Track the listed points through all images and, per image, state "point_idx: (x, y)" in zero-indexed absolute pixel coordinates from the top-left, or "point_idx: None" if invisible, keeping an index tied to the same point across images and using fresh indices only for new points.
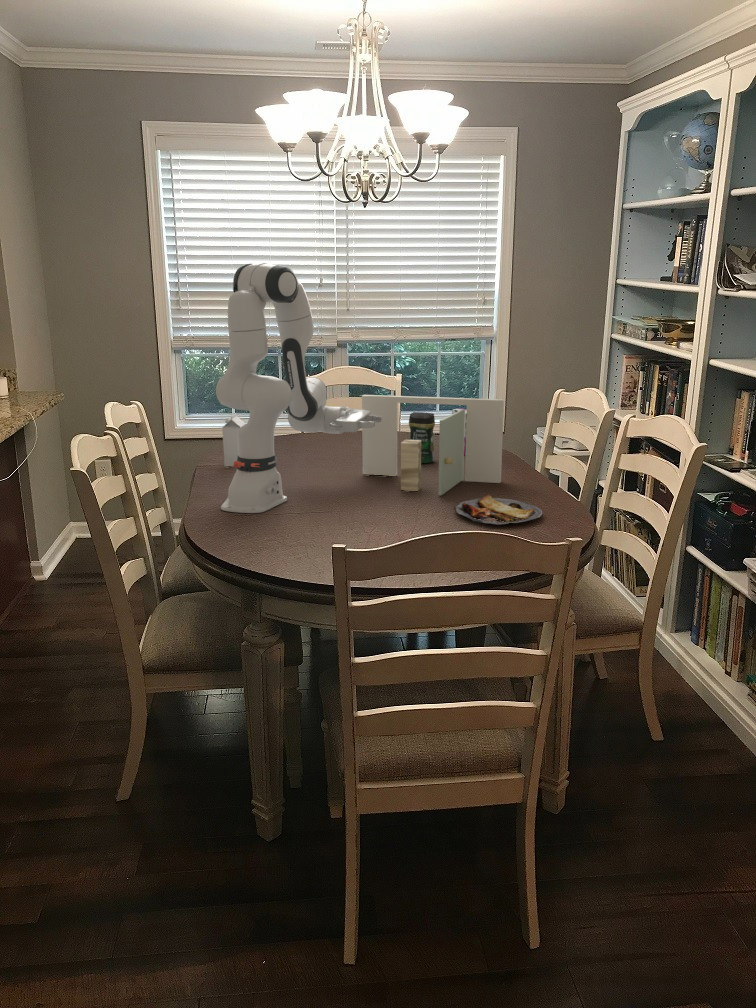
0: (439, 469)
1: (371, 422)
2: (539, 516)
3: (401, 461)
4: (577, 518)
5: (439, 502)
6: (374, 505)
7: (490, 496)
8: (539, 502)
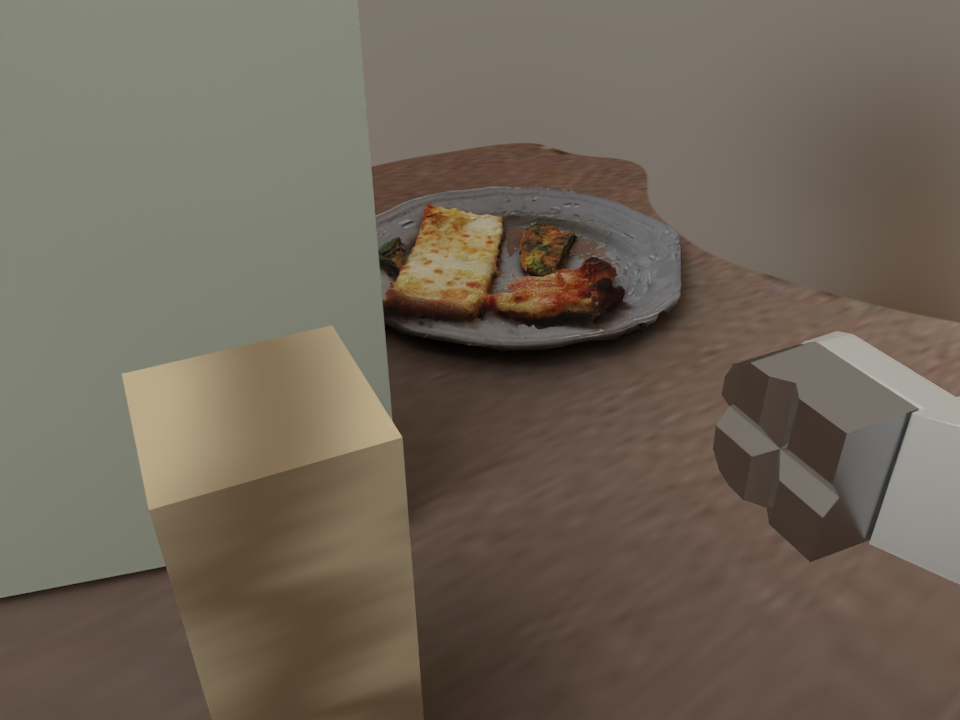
0: (386, 366)
1: (871, 350)
2: (481, 188)
3: (412, 614)
4: (375, 176)
5: (511, 471)
6: (934, 716)
7: (396, 287)
8: None
